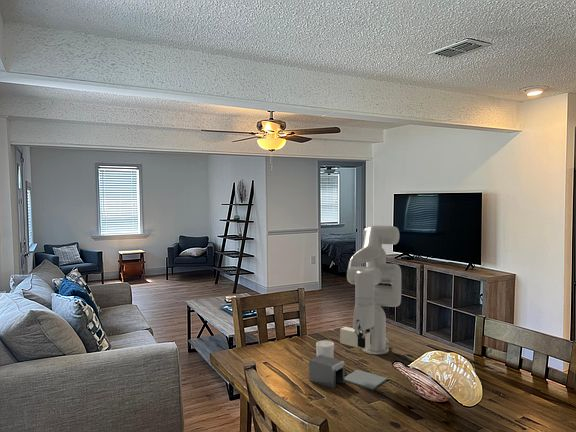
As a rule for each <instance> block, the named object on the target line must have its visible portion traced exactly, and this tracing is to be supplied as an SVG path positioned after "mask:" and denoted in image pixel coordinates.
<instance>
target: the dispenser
mask: <svg viewBox="0 0 576 432" xmlns="http://www.w3.org/2000/svg"><path fill="white" fill-rule="evenodd" d="M308 365H309V366H308V367H309V368H308V371H309V372H308V380H309V382H311V383H315V384H318V385H321V386H325V387H327V388H330V389H333V390H335V389H336V386H337V384H336V383H340V384H344V383H345V382H346V381H345V377H346V376H345V372H346V371H345V366H346V365H345V361H344V360H341V359H336V358H334V357H333V358H330V357H326V356H323V355H319V356H317V355H316V356H315V357H313V358H311V359H308Z"/></svg>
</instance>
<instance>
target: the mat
mask: <svg viewBox="0 0 576 432" xmlns="http://www.w3.org/2000/svg"><path fill="white" fill-rule="evenodd" d="M387 380H388V377H384V376H382V375H381V376H380V375H378V374H374V373H371V372H366V371H364V370H360V369H356V370H354V371H353V372H350V373H348V374H347V375H346V376H345V382H346V383H350V384H353V385H357V386H360V387H363V388H366V389H368V390H369V389H370V390H371V391H372V390H375V389H376V388H377V387H378V386H380V385H381V384H383V383H384V382H386V381H387Z"/></svg>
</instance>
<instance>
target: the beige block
mask: <svg viewBox="0 0 576 432" xmlns="http://www.w3.org/2000/svg"><path fill="white" fill-rule="evenodd" d="M354 331H355V329H353V327H349V326H344V327H341V328H339V343H340V344H343V345H346V346H350V347H354V348H358V349H361V350H362V349H367V348H369V347H370V332H368V331H365V336H364V338H365V348H362V347H358V337H357V334H356V333H354ZM360 332H361V333H362V331H360Z"/></svg>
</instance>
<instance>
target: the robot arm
mask: <svg viewBox="0 0 576 432" xmlns="http://www.w3.org/2000/svg"><path fill="white" fill-rule="evenodd" d="M362 238H363V239H362V240H363V242H362V247H361V248H360V249H359V250H358V251H356V252H355V253H354V254H353V255H352V256H351V258H350V259H349V261H348V266H347V271H346V279H347V282H348V283H349V284H351V285H354V286H355V289H354V291H355V292H354V294H355V295H354V297H355V300H354V301H355V302H354V303H355V304H354V308H353V316H352V318H353V319H352V328H353V329H355V331H354V333H356V334H357V337H358V347H362V348H365V338H364V336H365V331H368V332H370V347H369V348H367V349H362V348H361V350H362V351H363V352H364V353H366V354H370V355H378V356H380V355H385V354H387V353H389V351H390V348H389V347H388V346H387V343H389V338H387V337H386V333H387V332H386V331H387V330H386V328H387V327H386V321H387V319H386V317H387V316H386V313H385V310H384V309H383V308H382V307H392V308H395V307H396V308H397V307H400V305H401V302H402V269H401V266H400V265H399V264H397V263H387V253H386V250H385V249H384V248H383V245H394V246H395V245H397V244H398V243H399V241H400V231H399V228H398V227H396V226H394V225H370V226H367V227H365V228H363V231H362ZM366 263H367V266H361V265H362V264H366ZM379 284H390V285H391V286H390V285H379ZM360 331H362V333H361V332H360ZM358 347H357V348H358Z"/></svg>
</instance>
